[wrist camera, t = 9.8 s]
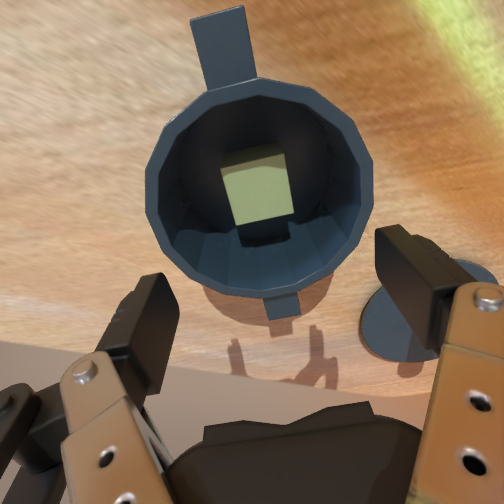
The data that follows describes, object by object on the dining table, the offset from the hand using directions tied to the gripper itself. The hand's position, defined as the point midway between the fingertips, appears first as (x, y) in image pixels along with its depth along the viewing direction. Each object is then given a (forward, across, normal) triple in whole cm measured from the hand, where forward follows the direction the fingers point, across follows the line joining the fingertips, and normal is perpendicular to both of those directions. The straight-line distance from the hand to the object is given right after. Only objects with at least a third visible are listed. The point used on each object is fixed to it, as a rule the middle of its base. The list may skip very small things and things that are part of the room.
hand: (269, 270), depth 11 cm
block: (+13, 0, 0) cm, 13 cm away
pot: (+13, 0, 0) cm, 13 cm away
